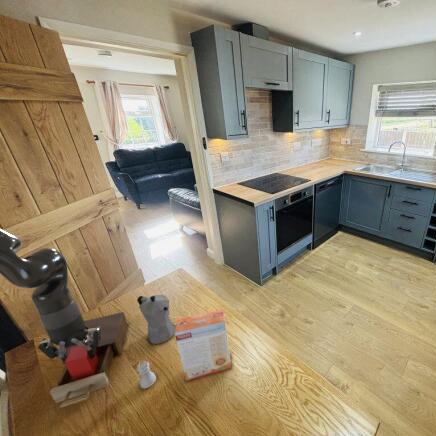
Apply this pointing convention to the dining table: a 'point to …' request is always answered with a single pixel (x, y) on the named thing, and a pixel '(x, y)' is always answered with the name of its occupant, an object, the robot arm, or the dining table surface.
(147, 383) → the rook chess piece
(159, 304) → the grey upright piece
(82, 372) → the block
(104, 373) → the drawer
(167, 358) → the dining table surface
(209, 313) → the cracker box
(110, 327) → the cabinet
